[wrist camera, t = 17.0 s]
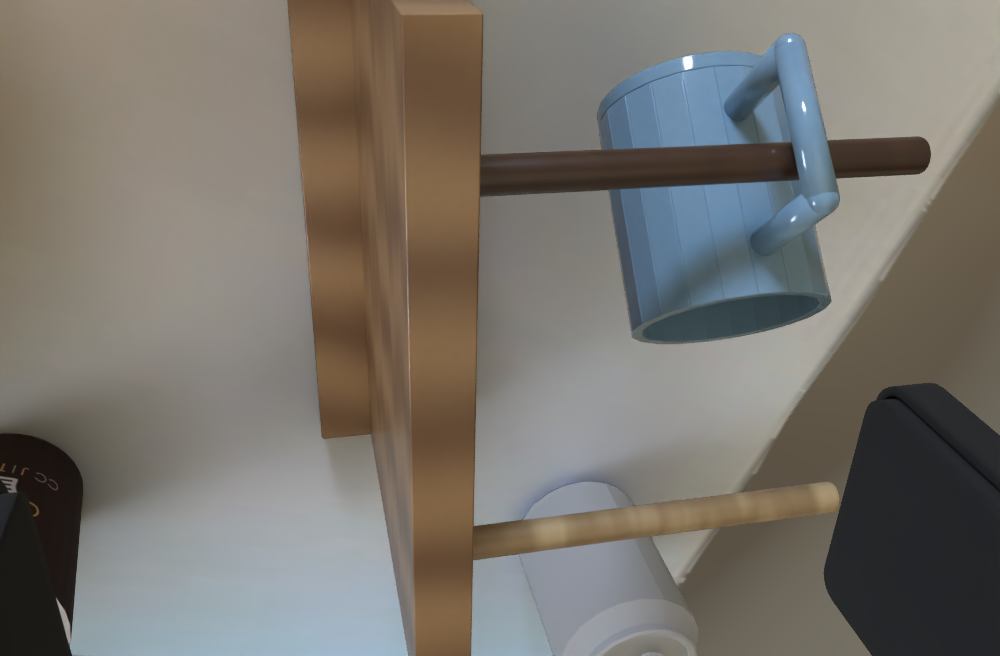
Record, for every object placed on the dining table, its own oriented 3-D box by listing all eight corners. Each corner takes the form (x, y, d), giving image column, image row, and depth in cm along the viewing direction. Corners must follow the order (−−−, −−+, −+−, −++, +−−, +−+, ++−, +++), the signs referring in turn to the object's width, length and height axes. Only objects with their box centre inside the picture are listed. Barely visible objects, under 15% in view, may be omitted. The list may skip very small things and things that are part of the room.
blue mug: (733, 137, 40) (773, 336, 38) (576, 143, 39) (608, 350, 37) (886, -24, 29) (952, 243, 27) (674, -24, 28) (728, 258, 26)
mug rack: (282, -70, 37) (292, 14, 21) (729, -66, 41) (1020, 7, 25) (320, 423, 48) (346, 715, 33) (667, 388, 52) (839, 635, 37)
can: (492, 557, 56) (544, 723, 45) (545, 460, 53) (612, 613, 43) (597, 577, 59) (668, 738, 48) (652, 486, 56) (739, 636, 46)
